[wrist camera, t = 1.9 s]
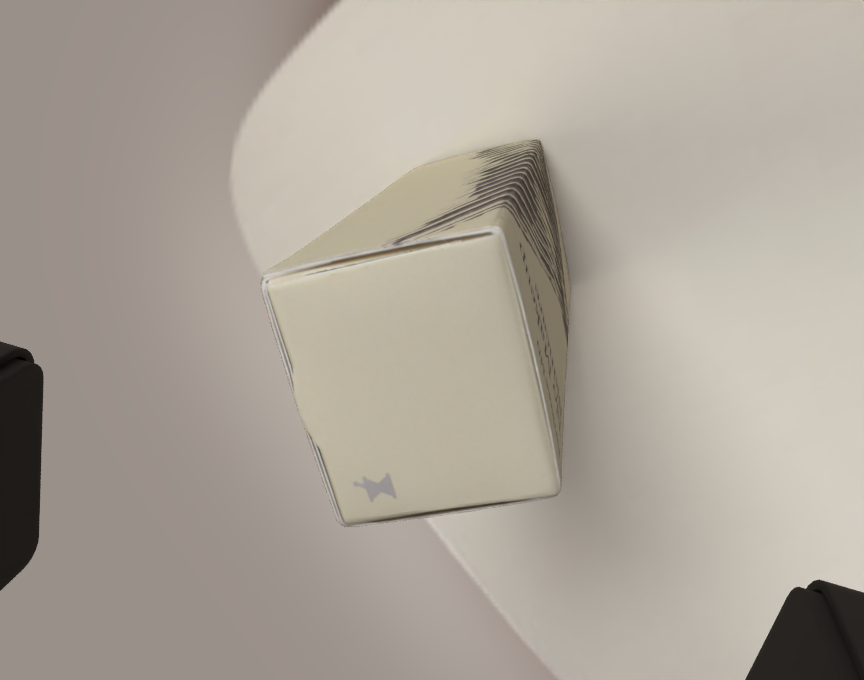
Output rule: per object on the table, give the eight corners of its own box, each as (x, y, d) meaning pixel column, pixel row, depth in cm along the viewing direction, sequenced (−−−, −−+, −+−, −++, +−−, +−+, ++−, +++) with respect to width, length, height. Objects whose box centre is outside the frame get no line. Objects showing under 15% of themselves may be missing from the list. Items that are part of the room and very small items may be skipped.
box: (574, 290, 25) (577, 518, 14) (442, 315, 26) (338, 548, 15) (539, 124, 24) (508, 220, 12) (400, 158, 25) (244, 278, 13)
